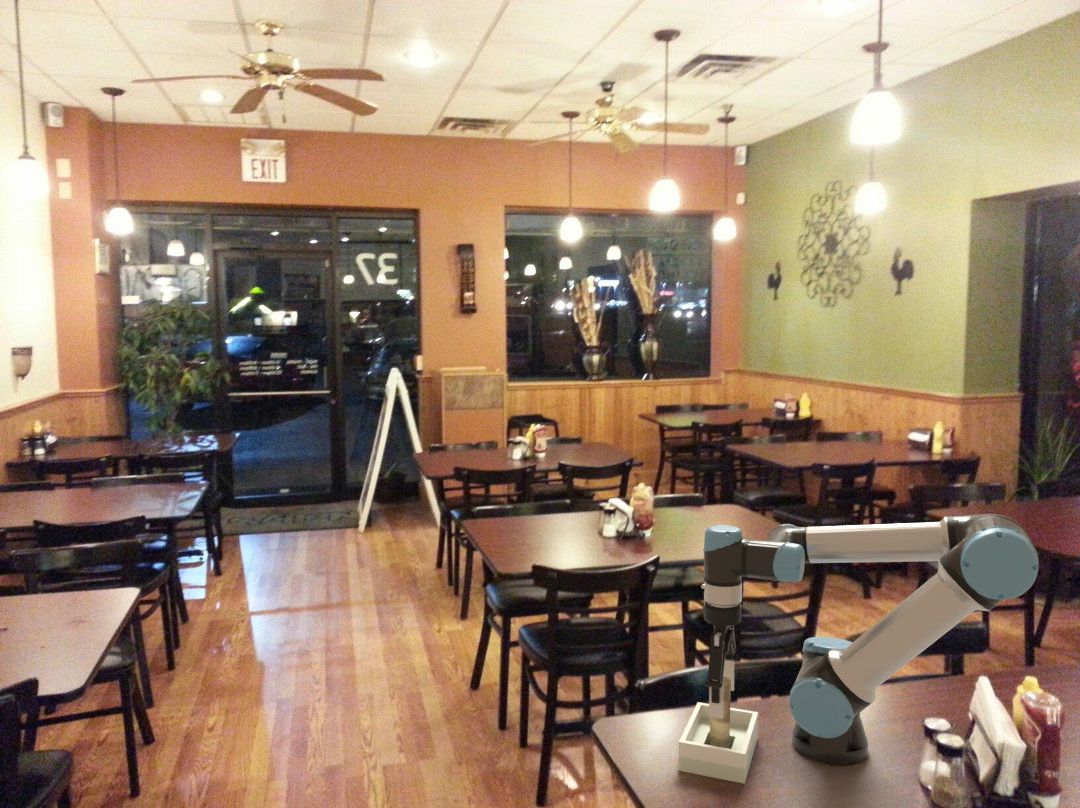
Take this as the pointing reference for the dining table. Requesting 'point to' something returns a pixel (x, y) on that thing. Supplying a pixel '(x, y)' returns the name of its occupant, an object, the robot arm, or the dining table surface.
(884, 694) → the dining table surface
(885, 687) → the dining table surface
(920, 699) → the dining table surface
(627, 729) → the dining table surface
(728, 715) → the peg
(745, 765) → the bore tray
